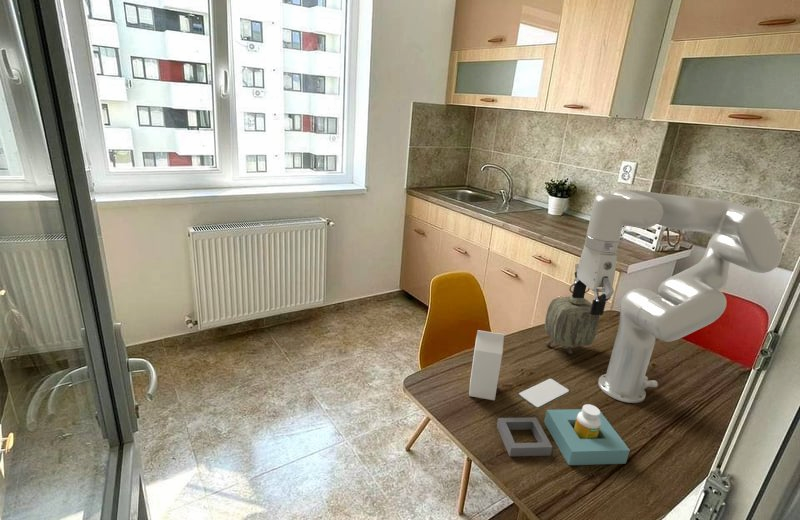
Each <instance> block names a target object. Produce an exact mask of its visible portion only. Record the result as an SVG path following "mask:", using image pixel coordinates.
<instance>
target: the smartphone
mask: <svg viewBox="0 0 800 520" xmlns="http://www.w3.org/2000/svg"><path fill="white" fill-rule="evenodd" d="M569 392H570V389H569V388H567V387H566V386H564V385H563V384H561V383H559V382H558V381H556V380H554V379H553V378H547V379H545V380H543V381H541V382H539V383H537V384H535V385H533V386H531V387H528V388H526V389H524V390H522V391H520V392H518V393H517V396H519V397H520V398H521V399H523V400H524V401H526V402H527V403H528V404H530V405H531V406H532V407H534V408H536V409H539V408H541V407H542V406H544V405H546V404H548V403H550V402H552V401H554V400H556V399H558V398H560V397H561V396H564V395H565V394H567V393H569Z"/></svg>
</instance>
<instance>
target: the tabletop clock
mask: <svg viewBox="0 0 800 520" xmlns="http://www.w3.org/2000/svg"><path fill="white" fill-rule="evenodd" d="M575 284H576V283H574V282H573V283H572V284H571V285H570V286H569V288H568V289H569V292H570V293H571V295H569V296H563V297H555V298H553V299H552V300H551V301H550V303H549V305H548V307H547V310H546V314H545V319H544V331H545V333H546V335H548V337H549V338H550V339H551V340H550V341H546V342H545V346H546V347H551V344H552V343H555V345H558V346H561V347H562V346H563V347H568V349H567V350H566V352H567V353H568V355H571V354H573V349H572V347H585V346H590V345H592V344H593V342H594V340H595V338H596V337H597V336H596V335H597V332H598V329H599V323H600V315H591V314H590V310H591V306H592V303H591V302H590V301H589V300H588V299H586V298H585V297H584V298H573V297H572V294H573V290H572V288H573V287H574V285H575ZM587 288H588V289H587V290H586V291H585V294H586V293H588V292H589V291H590V290H591V289H590V288H589V287H587ZM567 353H566V354H567Z"/></svg>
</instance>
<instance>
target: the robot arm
mask: <svg viewBox="0 0 800 520" xmlns="http://www.w3.org/2000/svg"><path fill="white" fill-rule="evenodd" d="M590 212H591V213H590V217H589V222H588V226H587V230H586V237H585V241H584V245H583V249H582V252H581V254H580V258H579V262H578V263H576V264H574V268H575V270H574V277H575V278H574V280H573V284H574V283H576V284H575V285H574V286H573V290H572V291H573V293H571V295H572V297H573V298H585V294H586V293H585V291H587V290H586V289H587V288H588V287H589V288H590V290H591V291H593V296H594V299H592V303H591V304H592V306H591V310H590V314H591V315H599V316H602V315H604V311H605V308H606V304H607V302H608V301H609V300H610V299H611V298H612V296H613V295H614V293H615V290H614V288H613V285H614V282H615V281H614V280H615V277H616V276H615V275H616V269H617V258H618V257H617V254H616V253H617V251H618V246H619V243H620V239H621V234H622V231H623V227H631V228H638V229H648V228H653V227H654V226H656V225H660V226H663V227H665V228H668V229H674V230H676V231H677V230H678V231H682V232H697V233H699V232H700V233H710V234H713V235H712V236H711V237H710V239H709V241H708V244H707V246H706V249H705V252H704V255H703V257H701V260H700V261H699V262H697V263H696V264H694V265H692V266H691V267H689V268H687V269H684V270H683V271H680V272H678V273H676V274H673V275H672V276H670V277H668V278H666V279H665V280H664V281H662V282H661V284H659V286H658V294H657V293H656V292H654V291H652V290H650V289H647V288H643V287H636V288H633V289H632V288H631V289H630V290H629V291H627V292H626V293H625V294H624V295H623V297H622V299H621V301H620V309H619V311H620V312H619V324H618V329H617V334H616V336H615V339H614V340H615V341H614V343H613V347H612V351H611V354H610V359H609V363H608V366H607V370H606V373H605V374H602V375H600V376H599V378H598V380H597V381H598V382H597V384H598V386H599V388H600V390H601V391H602V392H603V393H605V394H606V395H607V396H609V397H610V398H613V399H614V400H617V401H620V402H623V403H628V404H631V403H632V404H637V403H641V402H643V401H644V400H645V398H646V396H647V395H646V394H647V393H646V390H645V389H648V388H657V387H658V386H659V384H658V383H659V382H657V380H656V379H655V380H649V377H648V376H646V373H647V371H648V367H649V364H650V360H651V358H652V354H653V351H654V348H655V344H656V339H658V340H659V341H662V342H673V341H677V340H679V339H682V338H684V337H686V336H688V335H690V334H692V333H694V332H697V331H698V330H700V329H703V328H705V327H707V326H708V325H711V324H712V323H714V322H716V321H717V320H718V319H719V318H720V317H722V315H723V313H724V312H725V310H726V308H727V298H726V296H725V294H724V293H723V292H722V291H721V290H720V289H722V288H723V287H724V286H725V285H726V283H727V282H728V279H729V270H730V264H733V265H735V266H737V267H740V268H743V269H746V270H748V271H751V272H753V273H757V274H764V273H769V272H772V271H773V270H774V269H776V268H777V267H778V266H779V265H780V263H781V261H782V258H783V249H782V245H781V243H780V240H779V239H778V236H777V234H776V232H775V229H774V227H773V225H772V223H771V221H770V220H769V218H768V217H767V215H766V214H765V213H764V212H763V211H762V210H760V209H758V208H755V207H753V206H748V205H744V204H740V203H737V202H734V201H729V200H724V199H722V200H721V199H714V198H702V197H701V198H699V197H694V196H693V197H692V196H685V195H677V194H676V195H675V194H665V193H659V192H654V191H653V192H651V191H645V190H644V191H643V190H635V189H625V188H621V189H617V190H615V191H613V192H612V193H608V192H607V193H606V192H605V193H599V194H597V195H596V196H595V197H594V200H593V205H592V209H591V211H590ZM599 293H601V294H599Z"/></svg>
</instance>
